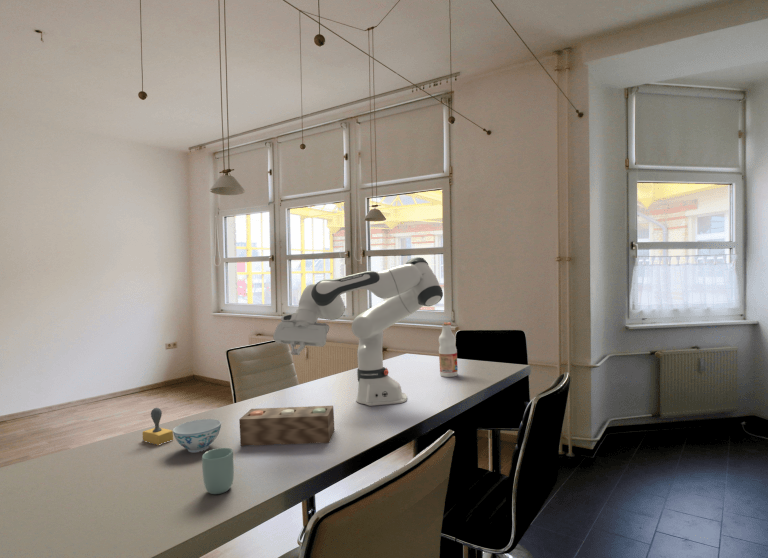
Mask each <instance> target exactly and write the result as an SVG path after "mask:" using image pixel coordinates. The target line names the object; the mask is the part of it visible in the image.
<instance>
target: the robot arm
mask: <svg viewBox="0 0 768 558" xmlns="http://www.w3.org/2000/svg"><path fill="white" fill-rule="evenodd" d="M357 290H358V291H359V290H366V291H369V292H371V293H372V294H373V295H374V296H376V297H377V298H379V299H380V298H381V299H383V301H381V302H378V304H376V305H373V306H372V307H370V308H369V309H366V310H365V311H363V312H361V313H360V314H358V315H357V316H356V317H354V319H353V321H352V323H351V331H352V333H353V335H354V336H356V338H358V339H359V340H358V347H357V350H356V351H357V352H356V353H357V354H356V355H357V369H356V373H357V374H356V376H357V377H356V378H357V382H358V385H357V386H358V387H357V396H356V400H355V402H357V403H359V404H361V405H366V406H369V407H371V406H373V407H374V406H381V405H382V406H384V405H393V404H402V403H403V404H404V403H405V402H407V400H408V395H407V393H404V392H403V391H402V386H401V385H400V383H399V382H398V381H396V380H395V379H393V378H392V377H391V376H390V375H389V373H390V372H389V369H388V368H387V367H385V366H384V361H383V359H384V357H383V342H384V331H385V330H387V329H388V328H390V327H391V326H393V325H395V324H397V323H398V322H400V321H402V320H404V319H405V318H407V317H409V316H411V315H412V314H414V313H416V312H417V311H418V310H420V309H421V308H423V307H431V306H435V305H437V304H439V303H440V301H442V298H443V296H444V294H443V289H442V286H441V285H440V283H439V281H438V278H437V276H436V274H435V272H434V271H433V270H432V269H431V267H430V266H429V263H428V262H427V261H426V259H425V258H424V257H418V256H416V257H412V258H410V259H409V260H408V261H406V262H405V263H404V264H400V265H396V266H393V267H389V268H387V269H384V270H380V271H379V270H378V271H374V270H366V271H362V272H358V273H354V274H353V273H352V274H350V275H345V276H343V277H342V276H341V277H337V278H328V279H326V278H325V279H322V280H319V281H318V282H316V283H311V284H308V285H307V286H306V287H305V288H304V289H303V291H302V293H301V294H300V298H299V301H298V307H297V309H296V311H295V312H292V313H289V314H286V315H282V316H281V317H280V322H279V323H278V324H277V326H276V328H275V329H274V333H273V335H272V339H273V341H274V342H275V343H276V344H283V345H290V348H291V350H290V354H291V355H293V356H300V355H301V352H302V351H303V350H304V349H305V348H306V347H307V346H308V347H321V348H323V347H325V346H326V343H327V337H328V333H329V331H330V326H329V324H327V323H325V322H318V318H319V319H324V320H327V321H328V320H329V321H335V320H338V319H340V318H341V317H342V316H343V315H344V313H345V311H346V306H345V303H344V301H343V299H342V296H341V295H343V294H347V293H350V292H355V291H357ZM296 346H299V347H298V348H296Z"/></svg>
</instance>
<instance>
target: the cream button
mask: <svg viewBox="0 0 768 558" xmlns="http://www.w3.org/2000/svg"><path fill="white" fill-rule="evenodd" d="M284 414H294V410H293V409H287V410H283V411H281V415H284Z"/></svg>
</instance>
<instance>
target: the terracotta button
mask: <svg viewBox="0 0 768 558" xmlns="http://www.w3.org/2000/svg"><path fill="white" fill-rule="evenodd" d="M262 414H263V411H261V410H258V411H253V412H251V413H250V416H259V415H262Z"/></svg>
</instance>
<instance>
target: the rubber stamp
mask: <svg viewBox="0 0 768 558" xmlns="http://www.w3.org/2000/svg"><path fill="white" fill-rule="evenodd" d="M162 412H163V411H162V409H161V408H159V407H154V408H153V409H152V410H151V412H150V417H151V419H152V421H153V423H154V427H153V428H150V429H149V428H148V429H147V430H143V431H142V441H143V440H144V441H147V442H150V443H149V444H151V443H153V444H152V445H155V444H157V445H156V446H158V445H159V444H161V443H164V442H167V441H170V440H173V441H174V433H173V429H169V428H163V427H160V422H161V418H162V416H163V415H162ZM144 441H143V442H144ZM147 442H146V443H147Z"/></svg>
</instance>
